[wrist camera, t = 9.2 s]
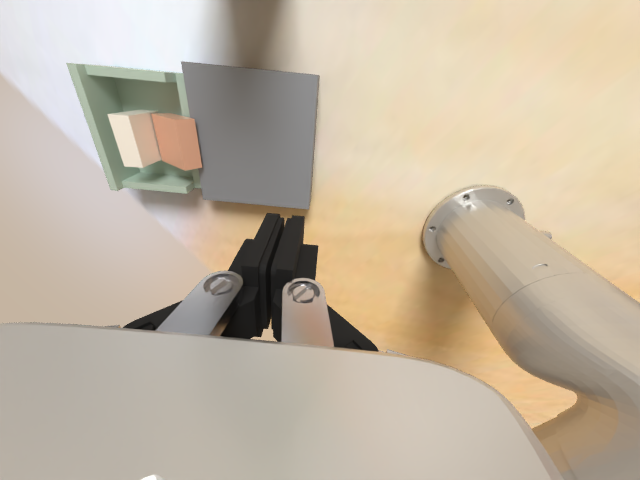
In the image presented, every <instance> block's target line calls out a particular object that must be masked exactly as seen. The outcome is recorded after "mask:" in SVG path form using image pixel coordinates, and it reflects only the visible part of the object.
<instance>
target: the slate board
mask: <svg viewBox="0 0 640 480" xmlns="http://www.w3.org/2000/svg"><path fill="white" fill-rule="evenodd" d="M181 64H182V70H183V76H184V83H185V89H186V95H187V101H188V108H189V114H190V118H193V119H195V125H196V131H197V138H198V144H199V150H200V156H201V163H202V168H198V170H199V177H200V183H201V189H202V195H203V199H204V200H214V201H225V202H235V203H246V204H257V205H267V206H278V207H288V208H299V209H309V206H310V201H311V188H312V174H313V160H314V145H315V131H316V117H317V103H318V89H319V75H313V74H303V73H292V72H282V71H272V70H262V69H252V68H242V67H232V66H222V65H211V64H201V63H191V62H181Z"/></svg>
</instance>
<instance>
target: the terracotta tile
mask: <svg viewBox="0 0 640 480" xmlns="http://www.w3.org/2000/svg"><path fill="white" fill-rule="evenodd" d="M151 116H152V120H153V124H154V128H155V133H156V137H157V141H158V145H159V150H160V154H161V158H162V161H164V162H166V163H168V164H171V165H173V166H175V167H178V168H180V169H182V170H184V171H186V170H191V169H197V168H202V163H201V156H200V150H199V144H198V138H197V131H196V125H195V119H193V118H189V117H185V116H181V115H177V114H172V113H151Z"/></svg>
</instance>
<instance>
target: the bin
mask: <svg viewBox="0 0 640 480" xmlns="http://www.w3.org/2000/svg"><path fill="white" fill-rule="evenodd" d="M66 64H67V66H68V69H69V72H70V75H71V78H72V81H73V84H74V86H75V89H76V92H77V95H78V98H79V101H80V104H81V106H82V109H83V112H84V115H85V118H86V121H87V124H88V126H89V129H90V132H91V135H92V138H93V141H94V144H95V146H96V149H97V152H98V155H99V158H100V161H101V164H102V166H103V169H104V172H105V175H106V178H107V181H108V183H109V186H110V189H111V190H115V191H118V190H120V189H122V188H132V189H143V190H153V191H164V192H174V193H185V194H187V193H189V192H190V191H191V190H193V189H194V188H201V183H200V177H199V170H198V168H197V169H191V170H186V171H184V170H182V169H180V168H178V167H175V166H173V165H171V164H168V163H166V162H164V161H162V160H160V161H157V162H155V163H153V164H151V165H148V166H146V167H144V168H138V167H125V166H124V164H123V161H122V158H121V155H120V152H119V149H118V146H117V142H116V139H115V136H114V133H113V130H112V127H111V124H110V121H109V118H108V115H107V114H112V113H119V112H126V111H133V110H153V111H158V112H159V113H172V114H177V115H181V116H185V117H189V118H190V114H189V108H188V101H187V95H186V89H185V83H184V76H183V73H174V72H164V71H153V70H143V69H133V68H123V67H113V66H101V65H87V64H74V63H66Z"/></svg>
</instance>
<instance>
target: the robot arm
mask: <svg viewBox="0 0 640 480" xmlns="http://www.w3.org/2000/svg"><path fill="white" fill-rule="evenodd" d="M464 195H465V196H464ZM304 219H305V217H304V216H293V215H292V218H287V221H286V224H285V227H284V218H281V217H280V214H272V213H267V214H266V216H265V218H264V220H263V222H262V224H261V226H260V228H259V230H258V232H257V234H256V236H255V238H254V240H253V239H246V240H245V241H244V243H243V245H242V246H241V248H240V250H239V252H238V253H237V255H236V257H235V259H234V261H233V262H232V264H231V266H230V268H229V270H228V271H218V272H215V273H212V274H210V275H208V276H206V277H205V278H204V279H203V280H201V282H199V284H198V285H197V286H196V287H195V288H194V289H193V290H192V291H191V292H190V293H189V294H188V296H187V297H186V298H185V299H184V300H183V301H180V302H178V303H175V304H173V305H171V306H168V307H166V308H164V309H161V310H159V311H156V312H154V313H152V314H149V315H147V316H144V317H142V318H139V319H137V320H135V321H133V322H131V323H129V324H127V325H126V326H124V327H123V328H121V327H120V325H115V326H104V327H103V326H91V325H77V324H57V323H37V322H33V323H32V322H30V323H3V324H0V480H640V303H639V302H638V301H636V300H635V299H633V298H632V297H631V296H629V295H628V294H626V293H625V292H624V291H622V290H621V289H619V288H618V287H617V286H615V285H614V284H612V283H611V282H610V281H608V280H607V279H605V278H604V277H603V276H601V275H600V274H598V273H597V272H596V271H594V270H593V269H591V268H590V267H589V266H587V265H586V264H584V263H583V262H582V261H580V260H579V259H577V258H576V257H575V256H573V255H572V254H571V253H569V252H568V251H566V250H565V249H564V248H562V247H561V246H559V245H558V244H557V243H555V242H554V241H552V240H551V238H552V235H551V233H550V232H546V231H539V230H537V229H536V228H534V227H533V226H532V225H530V224H529V223H527V222H526V221H525V213H524V209H523V207H522V204H521V203H520V201H519V200H518V199H517V198H516V197H515V196H514V195H512V194H511V193H510V192H508V191H506V190H504V189H502V188H499V187H496V186H488V185H481V186H473V187H469V188H465V189H462V190H460V191H458V192H455V193H453V194H452V195H450V196H449V197H447V198H445V199H444V200H443V201H442V202H441V203H439V204H438V205H437V206H436V207H435V209H434V210H433V211H432V212H431V214H430V215H429V217H428V219H427V220H426V223H425V226H424V229H423V244H424V247H425V249H426V251H427V253H428V255H429V256H430V257H431V259H432V260H433V261H434V262H436V263H437V264H439V265H441V266H443V267H445V268H449V269H452V271H453V272H454V274H455V276H456V277H457V279H458V280H459V282H460V283H461V285H462V287H463V288H464V290H465V291H466V293H467V294H468V296H469V298H470V299H471V301H472V302H473V304H474V305H475V307H476V309H477V310H478V312H479V313H480V315H481V316H482V318H483V320H484V321H485V323H486V324H487V326H488V327H489V329H490V331H491V332H492V334H493V335H494V337H495V338H496V340H497V341H498V343H499V344H500V346H501V347H502V349H503V350H504V352H505V353H506V354H507V355H508V356H509V358H510V359H511V360H512V361H513V362H514V363H516V364H517V365H518V366H519V367H520V368H522V369H523V370H525V371H526V372H528V373H530V374H531V375H533V376H535V377H537V378H540V379H542V380H544V381H547V382H549V383H552V384H554V385H557V386H560V387H562V388H565V389H568V390H571V391H573V392H575V393H576V395H577V401H576V403H575V404H574V405H573V406H572V407H570V408H569V409H567V410H565V411H563V412H561V413H560V414H558V415H557V417H555V418H553V419H551V420H549V421H547V422H545V423H543V424H541V425H539V426H537V427H535V428H532V429H531V428H530V426H529V425H528V423H527V422H526V421H525V419H524V418H523V417H522V416H521V414H520V413H519V412H518V411H517V409H516V408H515V407H514V406H513V405H512V404H511V403H510V402H509V401H508V400H507V399H506V398H505V397H504V396H503V395H502V394H501V393H499V392H498V391H497V390H495V389H494V388H493V387H491V386H490V385H488V384H486V383H485V382H483V381H481V380H479V379H478V378H476V377H474V376H472V375H470V374H467V373H465V372H463V371H460V370H458V369H456V368H453V367H451V366H447V365H444V364H441V363H438V362H435V361H431V360H427V359H422V358H418V357H413V356H408V355H405V354H401V353H398V352H394V351H391V350H388V349H387V351H386V352H382V351H379V350H378V349H377V347H376V346H375V345H374V344H373V343H372V342H371V341H370V340H369V339H368V338H366V337H365V336H364V335H363V334H362V333H360V332H359V331H358V330H357V329H356V328H354V327H353V326H352V325H351V324H350V323H349V322H347V321H346V320H345V319H344V318H343V317H341V316H340V315H339V314H338V313H337V312H335V311H334V310H333V309H332V308H331V307H329V306H328V305H327V303H326V297H325V292H324V289H323V287H322V286H321V285H320V283H318V282H316V281H315V276H316V264H317V253H318V245H307V244H303V237H304ZM270 320H271V324H272V329H273V337H274V338H275V339H276V340H277V341H278V342H274V341H264V340H253V339H251V338H252V337H261V336H262V332H263V329H268V327H269V324H270Z"/></svg>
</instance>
